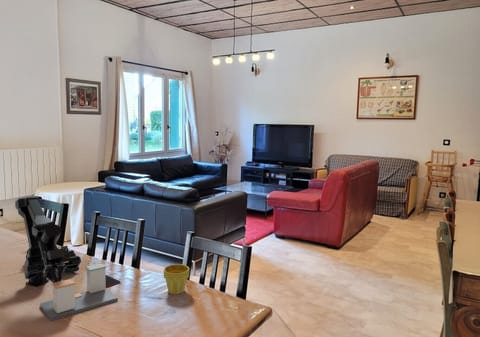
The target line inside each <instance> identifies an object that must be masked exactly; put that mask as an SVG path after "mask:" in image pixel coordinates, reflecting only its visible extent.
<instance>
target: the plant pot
mask: <svg viewBox="0 0 480 337" xmlns="http://www.w3.org/2000/svg"><path fill="white" fill-rule="evenodd" d="M189 277H190V266H187V265H186V264H181V263H174V264H169V265H167V266H165V267H164V268H163V278H164V279H165V282H166V287H167V292H168V294H171V295H180V293H181V294H183V293H184V292H185V290H186V285H187V280H188V279H189Z"/></svg>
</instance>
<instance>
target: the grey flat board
mask: <svg viewBox="0 0 480 337" xmlns="http://www.w3.org/2000/svg"><path fill="white" fill-rule="evenodd" d="M118 300H119V299H118V296H116V295H115V294H113V293H112V291H110V290H109V289H107V288H106V289H105V290H101V291H97V292H94V293H90V292H89V291H87V290H86V291H82V292H79V293H75V308H74V309H70V310H67V311H64V312H60V313H56V311H55V310H54V309H53V299H52V300H49V301H46V302H41V303H39V307H40V309H41V310H42V311H43V312H44V314H45V315H46V316H47V317H48V318H49V320H50V321H54V320H57V319H61V318H65V317H68V316H72V315H75V314H78V313H82V312H84V311H88V310H91V309H93V308H94V309H95V308H97V307H101V306H104V305H108V304H112V303H115V302H118Z"/></svg>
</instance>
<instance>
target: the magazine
mask: <svg viewBox="0 0 480 337" xmlns="http://www.w3.org/2000/svg"><path fill="white" fill-rule="evenodd" d="M29 250H30V248H29V247H28V249H27V250H26V253H25V254H26V255H25V259H26V258H27V254H28V252H29ZM74 256H77V254H76V253H75V251H74V250H73V249H71V250H69V253H68V254H66V255H64V257H63V260H62V261H61V262H65V261H68V259H69V257H74ZM55 271H56V269H55ZM78 271H80V266H79V267H78V268H75V269H71V270H69V269H67V266H66V269H65V271H64V272H67V273H68V272H69V273H71V272H72V273H76V272H78Z"/></svg>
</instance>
